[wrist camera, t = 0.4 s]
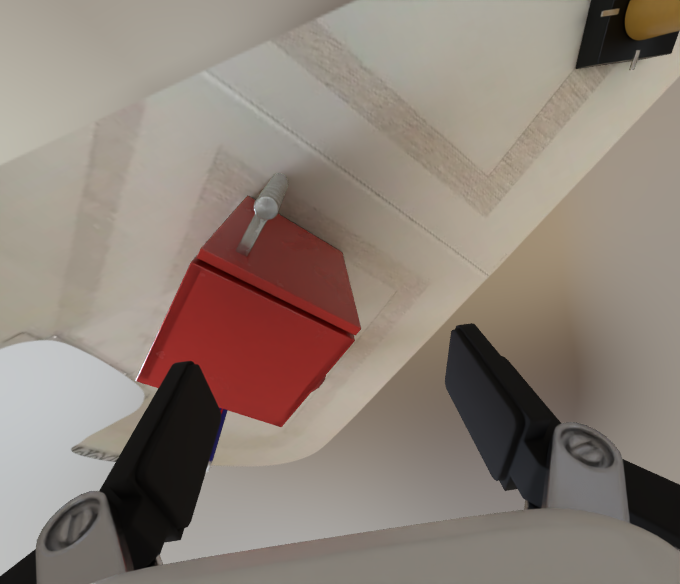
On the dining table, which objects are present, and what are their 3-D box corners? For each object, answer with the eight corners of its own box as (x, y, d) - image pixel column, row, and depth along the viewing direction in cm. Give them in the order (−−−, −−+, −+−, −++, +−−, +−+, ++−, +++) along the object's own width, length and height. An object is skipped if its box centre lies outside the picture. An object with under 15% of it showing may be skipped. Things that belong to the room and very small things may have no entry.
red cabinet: (242, 202, 32) (190, 261, 18) (338, 258, 36) (355, 341, 23) (201, 284, 36) (135, 381, 23) (291, 325, 41) (281, 427, 27)
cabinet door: (267, 156, 30) (231, 182, 16) (364, 221, 34) (399, 283, 21) (244, 201, 32) (196, 257, 18) (338, 257, 36) (355, 335, 23)
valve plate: (592, -45, 24) (621, -62, 22) (691, -59, 25) (730, -78, 22) (565, 80, 29) (587, 76, 26) (648, 67, 29) (678, 62, 27)
